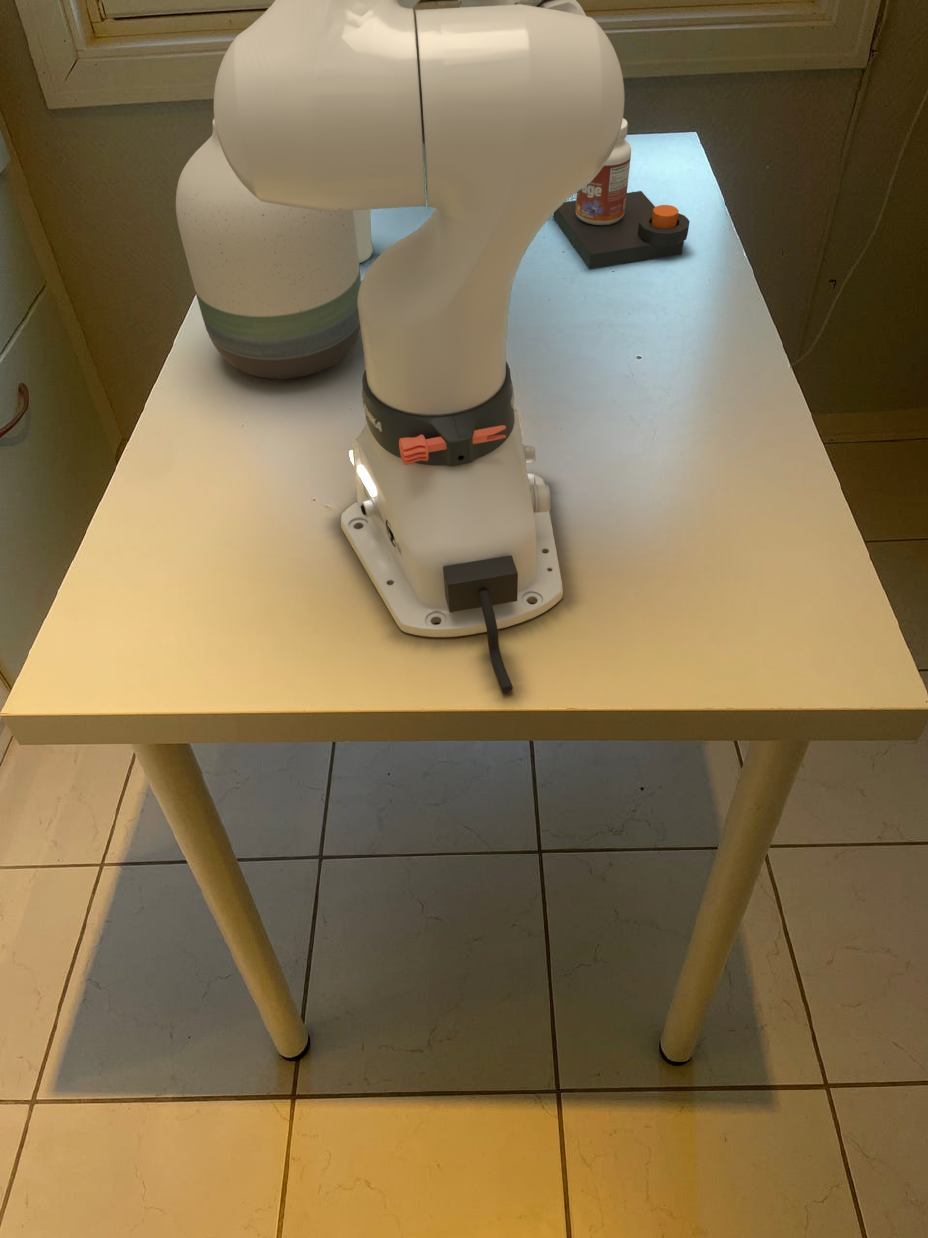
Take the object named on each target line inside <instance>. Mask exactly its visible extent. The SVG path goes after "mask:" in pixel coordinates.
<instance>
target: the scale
mask: <svg viewBox="0 0 928 1238" xmlns="http://www.w3.org/2000/svg"><path fill="white" fill-rule="evenodd" d="M655 207H656V205H654V204H653V203H652V201H651V200H650V199H649V198H648V197H647V195H646V194H645V193H644V192H643V191H642V190H637V191H631V192H627V195H626V205H625V213H624V216H623V217H622V219H621V220H619V221H618V222H616V223H613V224H610V225H593V224H589V223H586V222H583V221H582V220H580V219H579V218H578V217H577V215H576V200H571V201H565V202H564V203H563V204H562V205H561V206H560V207H559V208H558V209H557V210H556V211H555V212H554V213H553V214H552V217H553V220H554V221H555V222H556V224H557V225H558V226H559V228H560V230H561V231H562V232H563V234H564V235H565V237H566V239H568V241H569V243H570V244H571V245H572V246H573V248H574V249H575V251H576V253H577V254H578V255H579V257H580V258H581V260H582V261H583V262H584V263H585V265H586V266H587V268H588V269H589V270H592V269H598V268H604V267H611V266H616V265H617V266H618V265H622V264H629V263H636V262H642V261H648V260H654V259H655V260H656V259H661V258H667V257H673V256H680V255H682V254H683V250H684V244H685V241H686V240H687V237H688V234H689V227H690V221H691V220H690V219H688V218H687V216H686V215H685V214H682V213H680V212H678V218H677V225H676V227H674V228H668V229H664V228H657V227H654V226H652V224H651V223H652V215H653V209H654V208H655Z"/></svg>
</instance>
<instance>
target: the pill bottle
mask: <svg viewBox="0 0 928 1238" xmlns="http://www.w3.org/2000/svg"><path fill="white" fill-rule="evenodd" d="M627 136H628V120H627V119H625V118H624V117H623V120H622V125H621V130H620V133H619V136H618V139H617V142H616V144H615V147H614V149H613V151H612V153H611V155H610V157H609V159H608V160H607V162H606V164H605V165H604V167H603V168H602V169H601V171H600V172H599V173H598V175H597V176H596V177H595V178H594V179H593V180H592V181H591V182H590V183H589V184H588V185H586V186H585V187H583V188H582V189H580V190H579V191H578V192H577V193H576V197H575V198H576V199H575V201H576V215H577V217H578V218H579V219H580V220H582V221H583V222H586V223H589V224H593V225H610V224H613V223H616V222H618V221H619V220H621V219H622V217H623V216H624V213H625V205H626V195H627V193H628V185H629V175H630V168H631V157H632V147H631V144H630V143H629V142H628V140H627V139H626V138H627Z"/></svg>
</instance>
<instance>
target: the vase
mask: <svg viewBox="0 0 928 1238" xmlns="http://www.w3.org/2000/svg"><path fill="white" fill-rule="evenodd" d="M175 193H176V194H175V214H176V219H177V220H176V221H177V226H178V230H179V235H180V239H181V243H182V245H183V247H182V248H183V250H184V254H185V258H186V262H187V266H188V269H189V270H188V271H189V273H190V277H191V281H192V285H193V288H194V291H195V295H196V299H197V303H198V306H199V310H200V313H201V317H202V320H203V324H204V326H205V330H206V332H207V334H208V337H209V339H210V341H211V342H212V344H213V347H215V349H216V350H217V352H218V353H219V354H220V356H222V358H223V359H224V360H225V361H226V362H228V364H230V366H232V367H234V368H236V369H237V370H240V371H241V372H244V373H246V374H248V375H251V376H254V377H255V376H256V377H261V378H266V379H277V380H278V379H279V380H280V379H295V378H300V377H305V376H309V375H313V374H316V373H319V372H321V371H324V370H325V369H328V368H330V367H331V366H334V365H335V364H337V363H338V362H340V361H341V360H342V359H343V358H344V357H345V356H347V354H349V352H350V351H351V350H352V349H353V348H354V346H355V344H356V342H357V340H358V339H359V335H360V334H361V329H360V321H359V313H358V305H357V299H358V292H359V288H360V284H361V282H362V277H361V276H362V275H361V268H360V263H359V258H358V250H357V241H356V233H355V224H354V216H353V210H352V211H336V212H326V211H318V210H311V209H303V208H295V207H289V206H284V205H278V204H272V203H266V202H262V201H260V200H259V199H257V198H256V197H255V196H254V195H253V194H252V193H251V192H250V191H249V190H248V189H247V188H246V187H245V186H244V185H243V184H242V183H241V181H240V180H239V179H238V178H237V176H236V175H235V173H234V172H233V170H232V168H231V167H230V165H229V163H228V161H227V159H226V157H225V155H224V153H223V151H222V148H221V145H220V142H219V139H218V135H217V131H216V126H215V119H214V118H213V119H212V133H211V136H210V137H209V138H208V139H207V140H206V141H205V142H204V143H203V144H202V145H201V146H200V147H199V148H198V149H197V150H196V151H195V152H194V153H193V155H192V156H191V157H190V158H189V159H188V161H187V162H186V164H185V165H184V167H183V169H182V171H181V173H180V175H179V178H178V181H177V186H176V192H175Z"/></svg>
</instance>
